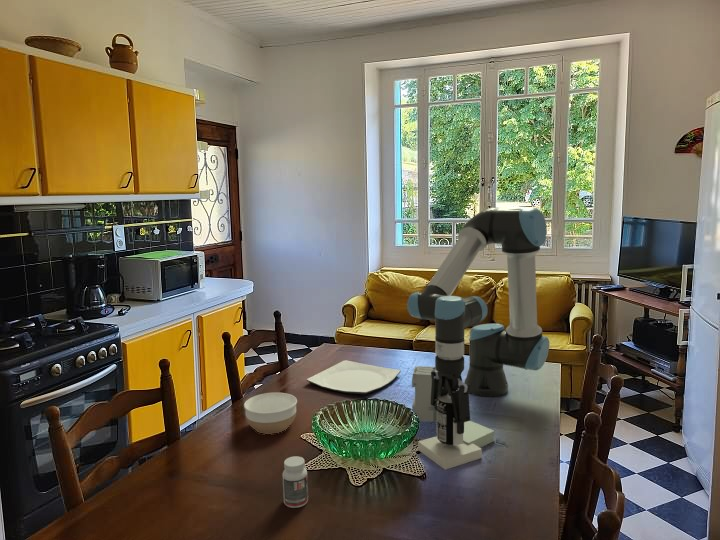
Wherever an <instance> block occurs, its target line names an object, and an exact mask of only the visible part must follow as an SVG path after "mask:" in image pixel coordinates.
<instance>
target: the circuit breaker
mask: <svg viewBox="0 0 720 540" xmlns="http://www.w3.org/2000/svg"><path fill="white" fill-rule="evenodd" d="M413 369H414V370H413V371H412V378H411V388H414V398H413V402H412V406H411V408H412V409H411V412H412V411H413V412H415V413H416V415H417V416H418V418H419V420H420V421H419V422H429V423H431V422H432V423H437V420H436V410H435V408H434V406H432V405H431V386H432V378H431V372H432V371H437V370H436V369H435V366H424V365H423V366H422V365H419V366H416V365H414V368H413ZM453 392H456V391H453ZM435 400H436V399H435Z"/></svg>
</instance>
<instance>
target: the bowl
mask: <svg viewBox="0 0 720 540" xmlns="http://www.w3.org/2000/svg"><path fill="white" fill-rule="evenodd" d="M297 404H298V399H297V397H296V396H294V395H293V394H290V393H286V392H285V393H284V392H266V393H261V394H260V393H259V394H256V395H254V396H252V397H249V398H248V399H247V400H246V401H245V402H244V404H243V408H244V410H245V418H246V422H247V423H248V425H249V426H250V427H251V428H252V429H253V430H254V429H255V430H256V431H257V432H260V433H265V434H271V435H273V434H272V433H278V434H280V433H279V432H281V433H283V432H282V431H284V430H285V431H287V430H288V429H289V428H290V426H291V424H292V423H293V422H294V420H295V417H296V416H297ZM289 425H290V426H289ZM288 427H289V428H288ZM287 428H288V429H287ZM286 429H287V430H286ZM255 430H254V431H255ZM256 431H255V432H256ZM285 431H284V432H285ZM257 432H256V433H257ZM260 433H259V434H260ZM265 434H264V435H265Z"/></svg>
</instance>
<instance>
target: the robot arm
mask: <svg viewBox="0 0 720 540" xmlns="http://www.w3.org/2000/svg"><path fill="white" fill-rule="evenodd" d="M546 221H547V220H546V218H545V215H544V214H543V213H542V211H540V209H537V208H534V207H526V206H524V207H523V206H522V207H521V206H519V207H490V208H486V209H483V210H482V211H480V212H478V213H477V214H475V215H474V216H472V217H471V218H470V219H469V220H468V221H467V222H465V224H464V225H463V226H462V227H461V229H460V231H459V232H458V235H457V237H458V239H457V240H456V242H455V243H454V245H453V247H452V248H451V249H450V251H449V252H448V254H447V255H446V257H445V259H444V260H443V261H442V263H441V264H440V266H439V267H438V269H437V271H436V272H435V273H434V275H433V276H432V278H431V279H430V281H429V282H428V284H427V285H426V287H425V288H424V289H423V291H417V292H416V291H415V292H413V293H411V294H410V295H409V297H408V299H407V305H406V306H407V308H406V309H407V312H408V314H409V315H410V316H411V317H413V318H417V319H419V320H429V321H434V324H435V325H434V331H435V332H434V333H435V334H434V335H435V339H434V340H435V343H434V345H435V350H434V352H435V357H434V360H435V362H434V367H435V369H436V370H437V371H432V372H431V378H432V386H431V405H432V406H434V408H435V410H436V420H437V401H438V400H439V396H444V395H447V394H449V396H451V401H452V406H453V411H454V416H455V421H453V445H454V446H456V445H460V444H463V433H464V422H467V421H471V409H470V394H472V395H475V396H479V397H480V396H481V397H499V396H503V395H505V394H507V393H508V391H509V383H508V381H507V377H506V374H505V370H504V366H508V367H513V368H517V369H523V370H526V371H527V370H530V371H539V370H540V369H542V367H543V366H544V365H545V363H546V360H547V358H548V355H549V350H550V338H549V337H547V336H546V335H543V329H542V327H541V326H540V325H538V310H537V307H538V306H537V305H538V304H537V303H538V302H537V275H536V273H537V272H536V271H537V270H536V255H537V253H539V252H540V251H541V247H542V246H544V244H545V242H546V240H547V235H548V230H547V228H548V227H547V222H546ZM491 244H495V245H501V252H502V253H503V254H504V255H505V256H506V258H507V260H506V261H507V278H508V279H507V283H508V284H507V285H508V287H507V288H508V305H509V306H508V308H509V325H508V326H506V328H505V326H504V325H503V324H502V323H483V324H479V323H481V322H482V321H484V320H485V319H486V317H487V315H488V306H487V303H486V301H485V300H484V299H483V298H481V297H480V296H476V295H473V296H471V295H470V296H467V297H461V296H457V295H452V294H453V293H454V292H455V290H456V288H457V287H458V285H459V284H460V282H461V280H462V278H463V277H464V276H465V274H466V273H467V272H468V270H469V268H470V266H471V264H472V263H473V262H474V260H475V259H476V256H477V255H478V254H479V253H480V252H482V251H483V250H485V248H486V247H487V246H488V245H491ZM469 327H472V328H471V329H470V331H469V339H468V340H469V347H468V348H469V357H468V358H469V359H468V360H469V364H468V365H469V367H468V370H467V374H466V377H465V379H464V382H463V377H462V373H463V371H465V357H464V356H465V353H466V352H465V329H467V328H469ZM453 391H456V392H453ZM435 399H436V400H435ZM459 416H460V417H459Z"/></svg>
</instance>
